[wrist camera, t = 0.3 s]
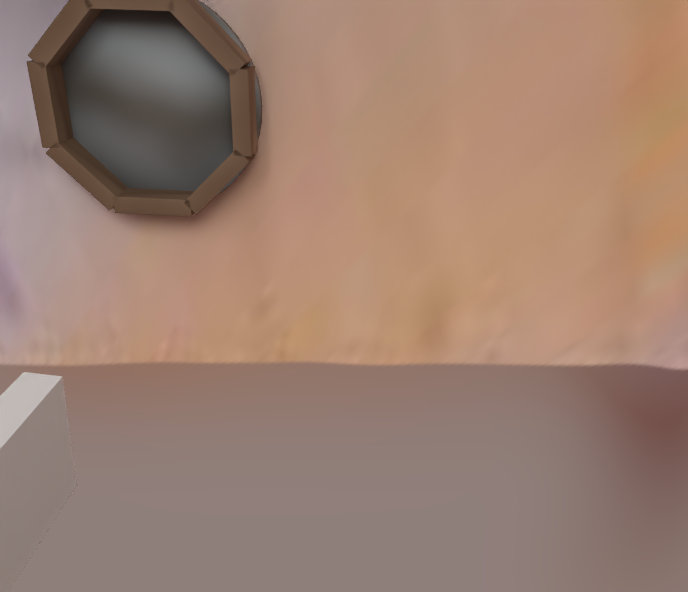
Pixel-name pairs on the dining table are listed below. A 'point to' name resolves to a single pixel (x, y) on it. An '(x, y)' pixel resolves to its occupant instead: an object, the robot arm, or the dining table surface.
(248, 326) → the dining table surface
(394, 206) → the dining table surface
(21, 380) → the robot arm
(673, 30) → the dining table surface
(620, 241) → the dining table surface
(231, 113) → the holder
